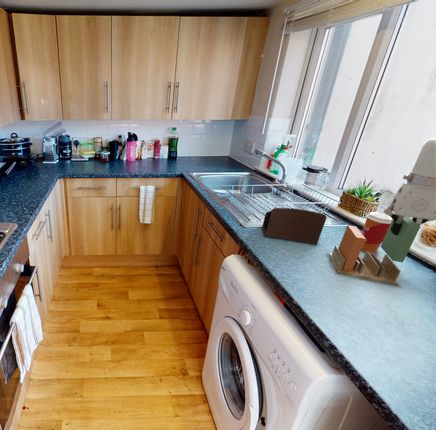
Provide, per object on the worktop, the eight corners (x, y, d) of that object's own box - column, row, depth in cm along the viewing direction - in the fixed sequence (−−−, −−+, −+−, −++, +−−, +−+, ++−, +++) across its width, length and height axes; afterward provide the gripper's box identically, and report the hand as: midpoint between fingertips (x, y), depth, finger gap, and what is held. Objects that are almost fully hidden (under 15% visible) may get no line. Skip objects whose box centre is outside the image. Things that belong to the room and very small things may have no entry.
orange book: (343, 257, 108) (356, 226, 102) (351, 271, 99) (366, 239, 94) (335, 255, 109) (347, 225, 103) (342, 269, 100) (356, 237, 95)
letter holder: (317, 244, 118) (328, 213, 112) (264, 236, 123) (272, 206, 117) (310, 234, 126) (321, 204, 120) (261, 226, 132) (269, 198, 126)
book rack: (381, 265, 105) (387, 253, 103) (397, 285, 94) (404, 273, 92) (328, 254, 111) (333, 243, 109) (337, 273, 100) (342, 261, 98)
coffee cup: (356, 242, 121) (370, 209, 114) (381, 250, 115) (398, 216, 109) (351, 248, 116) (365, 214, 109) (376, 257, 110) (393, 222, 104)
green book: (389, 248, 101) (405, 214, 95) (402, 262, 92) (420, 226, 87) (380, 246, 102) (395, 213, 96) (392, 260, 93) (409, 225, 88)
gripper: (397, 180, 86) (374, 234, 94) (470, 187, 80) (439, 244, 88) (386, 174, 92) (365, 225, 100) (453, 180, 87) (426, 234, 94)
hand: (400, 233), depth 94 cm, fingers closed on green book, 2 cm apart
